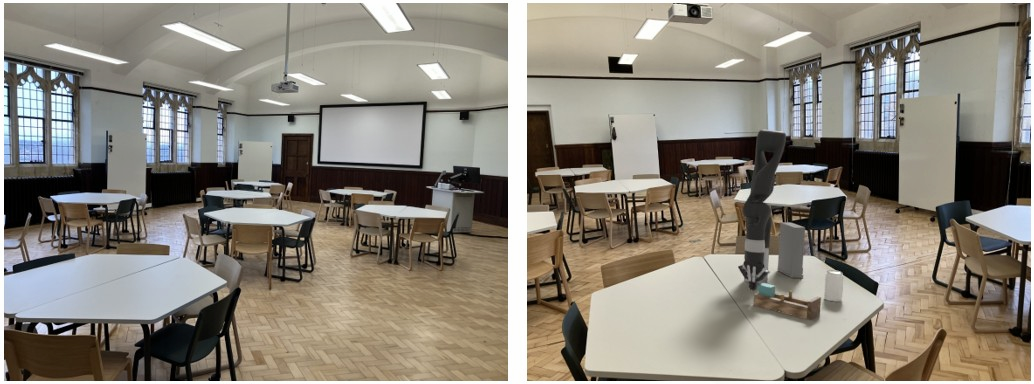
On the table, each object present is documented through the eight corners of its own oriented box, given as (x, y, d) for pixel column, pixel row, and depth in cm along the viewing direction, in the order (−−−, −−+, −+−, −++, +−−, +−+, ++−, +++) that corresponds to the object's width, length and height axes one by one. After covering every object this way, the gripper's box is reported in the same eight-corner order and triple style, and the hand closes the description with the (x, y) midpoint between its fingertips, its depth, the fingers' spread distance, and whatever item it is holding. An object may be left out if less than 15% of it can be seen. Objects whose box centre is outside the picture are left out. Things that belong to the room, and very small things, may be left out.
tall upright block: (803, 278, 252) (807, 227, 249) (791, 278, 252) (794, 227, 249) (789, 270, 265) (792, 222, 262) (777, 270, 265) (780, 222, 262)
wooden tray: (753, 304, 214) (754, 288, 213) (763, 300, 219) (764, 284, 219) (809, 320, 197) (811, 302, 196) (819, 314, 202) (821, 297, 201)
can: (844, 302, 216) (846, 274, 215) (827, 301, 217) (829, 273, 216) (838, 297, 222) (840, 270, 221) (821, 296, 224) (823, 269, 222)
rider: (757, 296, 215) (758, 284, 214) (762, 294, 217) (763, 282, 216) (769, 299, 211) (770, 287, 210) (774, 297, 213) (775, 285, 213)
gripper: (734, 248, 219) (732, 287, 221) (765, 253, 209) (763, 295, 211) (744, 245, 223) (742, 284, 226) (774, 251, 213) (772, 291, 215)
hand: (752, 289), depth 218 cm, fingers closed
